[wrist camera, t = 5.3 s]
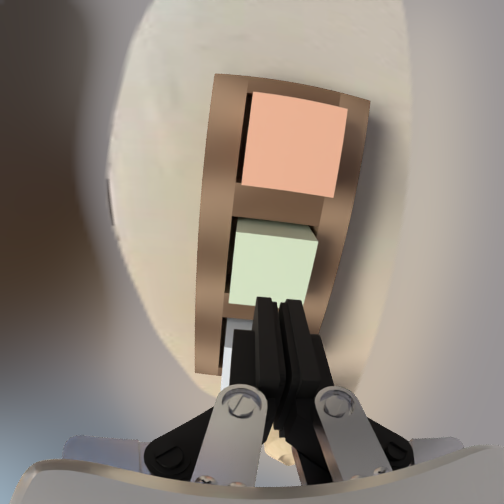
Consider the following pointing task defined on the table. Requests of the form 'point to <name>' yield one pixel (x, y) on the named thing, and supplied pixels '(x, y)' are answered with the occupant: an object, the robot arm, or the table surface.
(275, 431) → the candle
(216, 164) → the button panel
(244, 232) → the sage button
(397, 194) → the table surface
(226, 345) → the greyblue button
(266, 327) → the robot arm
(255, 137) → the terracotta button
